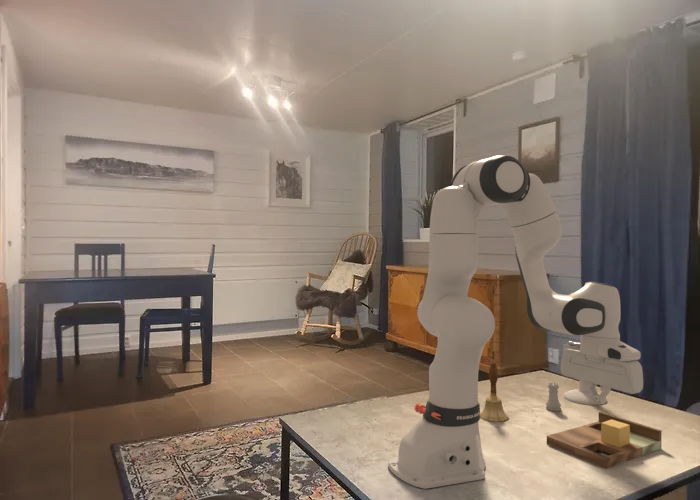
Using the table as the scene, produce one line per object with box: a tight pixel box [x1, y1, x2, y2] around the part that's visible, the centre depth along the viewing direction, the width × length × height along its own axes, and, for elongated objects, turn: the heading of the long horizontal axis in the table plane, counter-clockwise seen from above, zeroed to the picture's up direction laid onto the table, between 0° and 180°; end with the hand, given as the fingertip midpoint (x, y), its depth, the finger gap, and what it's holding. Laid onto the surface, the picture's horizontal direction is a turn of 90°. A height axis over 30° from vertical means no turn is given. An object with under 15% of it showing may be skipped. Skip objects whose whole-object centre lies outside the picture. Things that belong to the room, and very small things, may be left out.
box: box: [546, 411, 663, 469], centre depth 121 cm, size 22×16×4 cm
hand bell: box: [480, 362, 510, 423], centre depth 143 cm, size 8×8×16 cm
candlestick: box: [563, 380, 608, 406], centre depth 160 cm, size 13×13×30 cm
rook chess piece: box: [545, 381, 562, 412], centre depth 150 cm, size 4×4×8 cm
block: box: [601, 419, 630, 447], centre depth 119 cm, size 4×4×4 cm
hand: (598, 402), depth 122 cm, fingers closed
